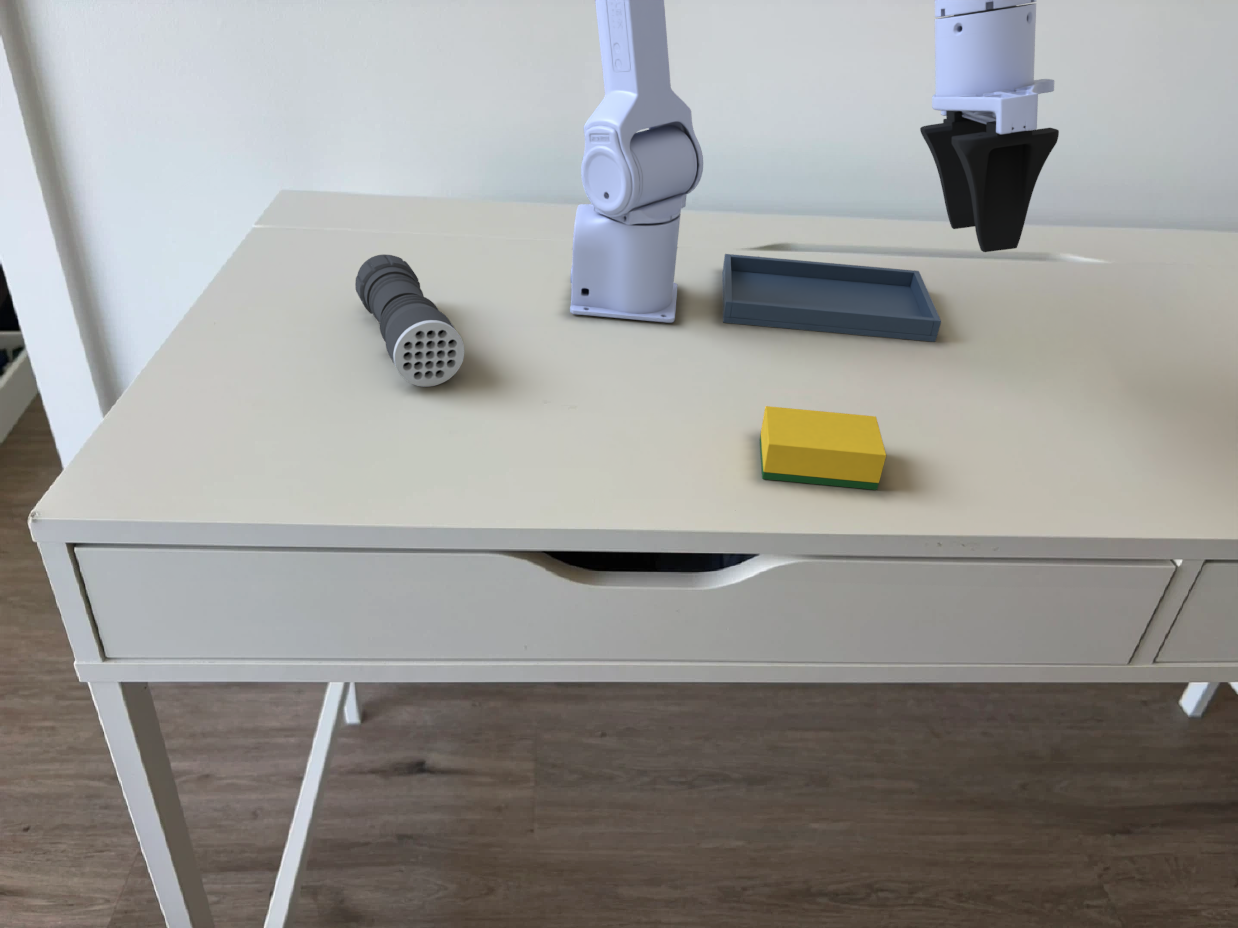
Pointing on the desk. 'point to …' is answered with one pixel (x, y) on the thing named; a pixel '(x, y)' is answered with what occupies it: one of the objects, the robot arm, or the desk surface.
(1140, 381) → the desk surface
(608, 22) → the robot arm
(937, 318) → the tray
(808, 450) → the sponge
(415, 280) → the flashlight
